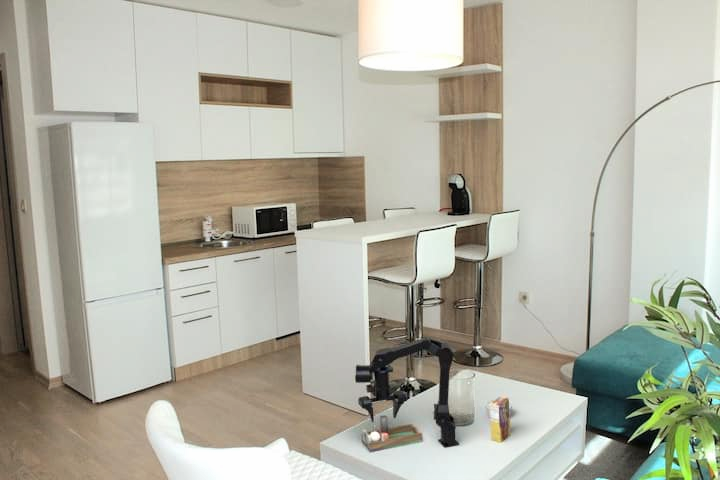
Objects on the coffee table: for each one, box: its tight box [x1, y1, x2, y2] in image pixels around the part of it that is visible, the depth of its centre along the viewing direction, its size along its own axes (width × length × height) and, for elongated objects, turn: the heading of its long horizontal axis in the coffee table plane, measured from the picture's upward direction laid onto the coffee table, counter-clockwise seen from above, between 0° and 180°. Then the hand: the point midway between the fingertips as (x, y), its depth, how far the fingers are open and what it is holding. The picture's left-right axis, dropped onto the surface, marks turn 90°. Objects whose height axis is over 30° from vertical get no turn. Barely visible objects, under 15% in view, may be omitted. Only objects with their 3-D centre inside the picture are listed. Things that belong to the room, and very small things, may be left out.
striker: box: [377, 415, 389, 440], centre depth 240 cm, size 7×3×10 cm, turn 18°
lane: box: [361, 423, 423, 453], centre depth 242 cm, size 10×22×6 cm, turn 108°
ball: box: [370, 432, 380, 442], centre depth 240 cm, size 4×4×4 cm
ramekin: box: [485, 399, 513, 419], centre depth 261 cm, size 11×11×5 cm
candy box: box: [490, 396, 511, 443], centre depth 240 cm, size 9×4×15 cm, turn 140°
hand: (383, 419), depth 240 cm, fingers open, 9 cm apart
